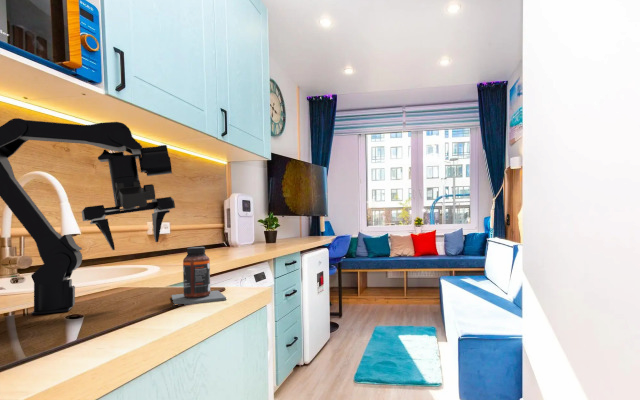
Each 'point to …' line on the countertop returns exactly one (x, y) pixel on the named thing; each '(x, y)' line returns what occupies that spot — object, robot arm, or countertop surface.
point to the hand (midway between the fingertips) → (135, 245)
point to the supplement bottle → (196, 273)
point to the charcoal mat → (210, 298)
